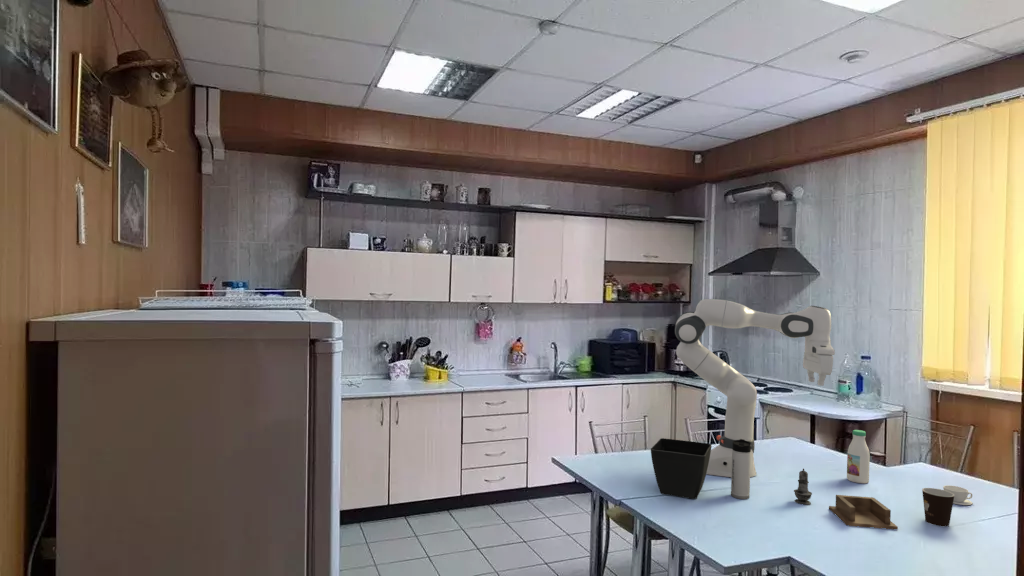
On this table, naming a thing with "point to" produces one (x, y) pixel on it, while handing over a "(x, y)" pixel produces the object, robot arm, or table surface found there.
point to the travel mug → (741, 469)
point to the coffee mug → (937, 506)
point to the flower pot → (680, 466)
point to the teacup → (959, 495)
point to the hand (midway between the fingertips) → (815, 383)
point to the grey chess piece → (803, 489)
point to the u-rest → (862, 512)
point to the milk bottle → (858, 458)
